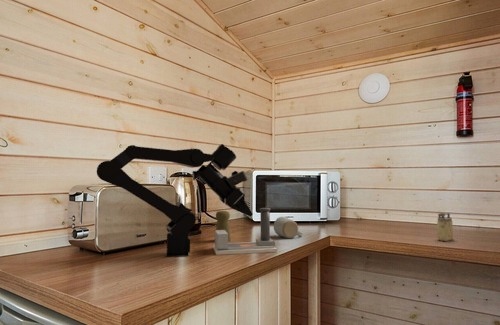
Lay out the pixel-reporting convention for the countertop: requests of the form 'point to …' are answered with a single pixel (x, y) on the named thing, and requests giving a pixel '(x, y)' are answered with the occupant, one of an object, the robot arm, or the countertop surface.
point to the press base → (237, 245)
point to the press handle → (265, 229)
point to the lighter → (444, 227)
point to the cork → (223, 222)
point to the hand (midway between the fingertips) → (248, 213)
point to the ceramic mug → (286, 228)
